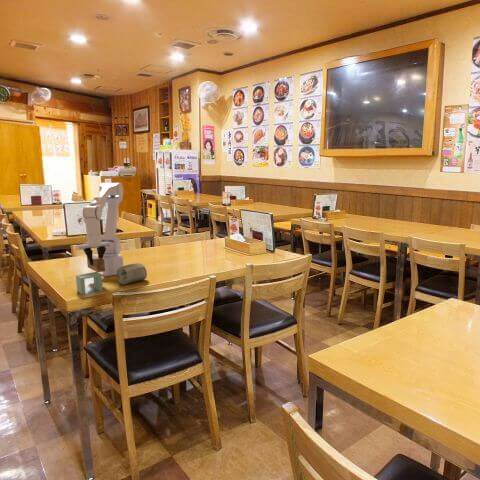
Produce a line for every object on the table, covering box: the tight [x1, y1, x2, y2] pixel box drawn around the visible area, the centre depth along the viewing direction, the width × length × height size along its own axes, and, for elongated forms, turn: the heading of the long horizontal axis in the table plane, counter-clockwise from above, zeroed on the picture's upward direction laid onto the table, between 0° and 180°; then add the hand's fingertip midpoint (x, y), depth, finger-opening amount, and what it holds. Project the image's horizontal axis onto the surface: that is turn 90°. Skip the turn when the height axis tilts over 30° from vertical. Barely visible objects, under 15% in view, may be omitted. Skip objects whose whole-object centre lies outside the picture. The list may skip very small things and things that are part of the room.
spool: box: [116, 262, 148, 286], centre depth 179 cm, size 14×10×10 cm
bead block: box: [75, 271, 103, 295], centre depth 166 cm, size 8×6×7 cm
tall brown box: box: [86, 254, 105, 273], centre depth 178 cm, size 3×13×5 cm, turn 38°
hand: (95, 264), depth 178 cm, fingers closed on tall brown box, 3 cm apart
